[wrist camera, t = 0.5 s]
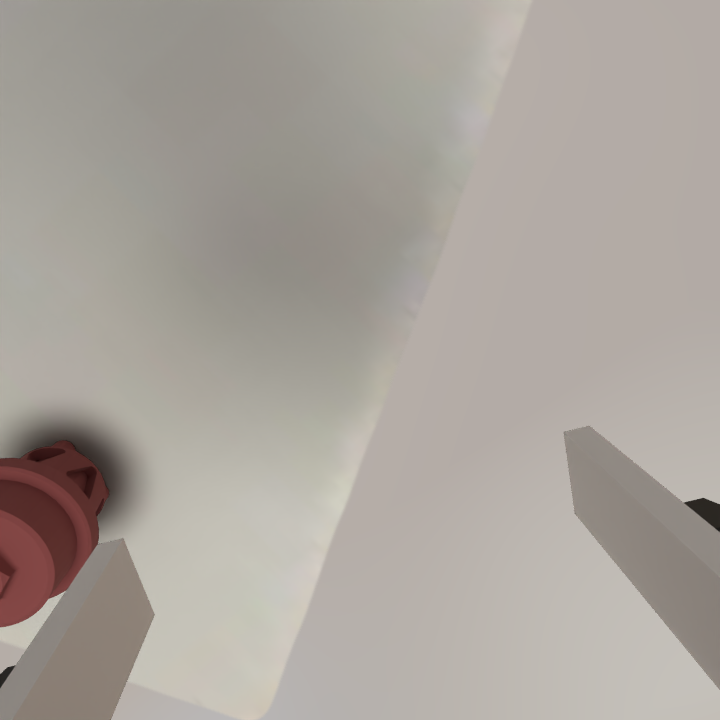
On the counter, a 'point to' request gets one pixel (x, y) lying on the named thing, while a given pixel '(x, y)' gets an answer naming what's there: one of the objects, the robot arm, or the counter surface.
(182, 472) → the counter surface
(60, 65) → the counter surface
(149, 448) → the counter surface
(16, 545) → the mechanical component
